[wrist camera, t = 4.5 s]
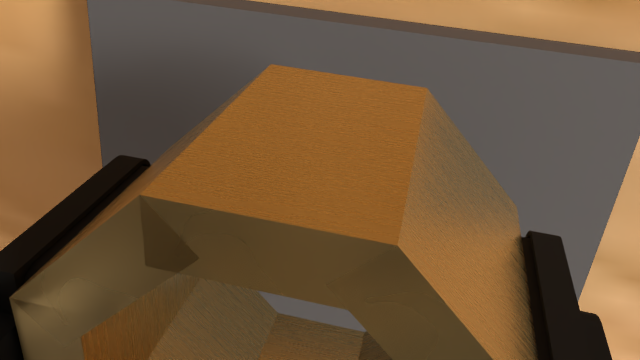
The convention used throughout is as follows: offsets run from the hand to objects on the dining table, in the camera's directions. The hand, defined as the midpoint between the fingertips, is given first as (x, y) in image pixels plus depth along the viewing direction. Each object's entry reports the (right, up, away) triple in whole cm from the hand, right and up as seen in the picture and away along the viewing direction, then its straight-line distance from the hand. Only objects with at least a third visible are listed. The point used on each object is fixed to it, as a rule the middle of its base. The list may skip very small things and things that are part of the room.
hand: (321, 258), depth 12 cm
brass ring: (0, 0, +1) cm, 1 cm away
